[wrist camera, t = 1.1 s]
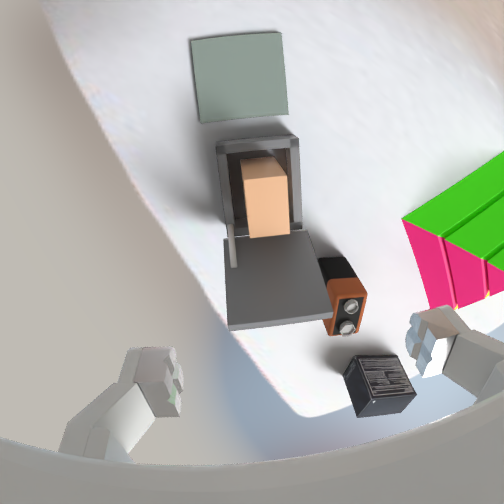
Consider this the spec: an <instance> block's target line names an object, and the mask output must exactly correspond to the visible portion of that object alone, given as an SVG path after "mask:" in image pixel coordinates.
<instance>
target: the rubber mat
mask: <svg viewBox="0 0 504 504" xmlns="http://www.w3.org/2000/svg"><path fill="white" fill-rule="evenodd" d="M191 45H192V54H193V63H194V72H195V81H196V90H197V98H198V106H199V114H200V122H201V123H208V122H215V121H223V120H232V119H241V118H251V117H263V116H276V115H289V114H288V101H287V88H286V77H285V66H284V55H283V45H282V35H281V33H261V34H246V35H234V36H224V37H216V38H208V39H201V40H194V41H191Z"/></svg>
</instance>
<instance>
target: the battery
mask: <svg viewBox="0 0 504 504" xmlns="http://www.w3.org/2000/svg"><path fill="white" fill-rule="evenodd" d="M318 264H319V267H320V270H321V273H322V276H323V279H324V283H325V286H326V289H327V292H328V295H329V299H330V302H331V305H332V308H333V317H332V318H328V319H322V320H323V322H324V325H325V328H326V331H327V333H328V335H329V336H337V335H342V336H343V337H345V336H351V335H352V334H354V333H357V332H358V331H359V327H360V324H361V320H362V316H363V312H364V308H365V303H366V299H367V291H366V290H365V288H364V286H363V285H362V283H361V282H360V280H359V278H358V277H357V275H356V273H355V272H354V270H353V269H352V267H351V265H350V264H349V262H348V261H347V259H346V258H345V257H334V258H319V259H318Z"/></svg>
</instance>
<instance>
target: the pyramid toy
mask: <svg viewBox="0 0 504 504" xmlns="http://www.w3.org/2000/svg"><path fill="white" fill-rule="evenodd" d="M402 222H403V224H404V227H405V230H406V232H407V235H408V238H409V241H410V244H411V247H412V250H413V253H414V256H415V259H416V262H417V265H418V268H419V271H420V274H421V278H422V281H423V284H424V288H425V291H426V295H427V298H428V302H429V306H430V309H433V308H436V307H440V306H444V305H449V306H451V307H452V309H453V310H455V309H457V308H458V309H459V308H462V307H464V306H467V305H469V304H472V303H475V302H477V301H480V300H482V299H485V298H486V297H487V296H489V295H490V296H492V295H494V294H497V293H499V292H501V291H504V151H503V152H502V153H500V154H499V155H497V156H496V157H494V158H493V159H492V160H490V161H489V162H487V163H486V164H484V165H483V166H481V167H480V168H478V169H477V170H476V171H474V172H473V173H471V174H470V175H468V176H467V177H465V178H464V179H462V180H461V181H459V182H458V183H456V184H455V185H453V186H452V187H450V188H449V189H447V190H445V191H444V192H442V193H441V194H439V195H438V196H436V197H435V198H433V199H432V200H430V201H428V202H427V203H425V204H424V205H422V206H421V207H419V208H417V209H416V210H414V211H413V212H411V213H410V214H408V215H406V216H405V217H403V218H402Z"/></svg>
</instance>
